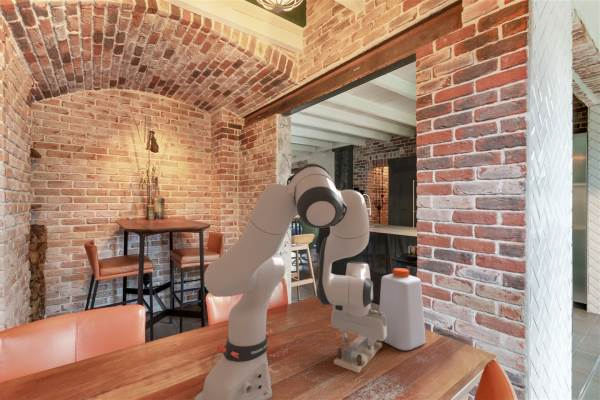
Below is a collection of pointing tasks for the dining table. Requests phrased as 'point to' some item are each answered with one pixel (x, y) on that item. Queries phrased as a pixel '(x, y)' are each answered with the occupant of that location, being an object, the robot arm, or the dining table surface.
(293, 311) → the dining table surface
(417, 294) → the plastic bottle
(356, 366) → the peg board
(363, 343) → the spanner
